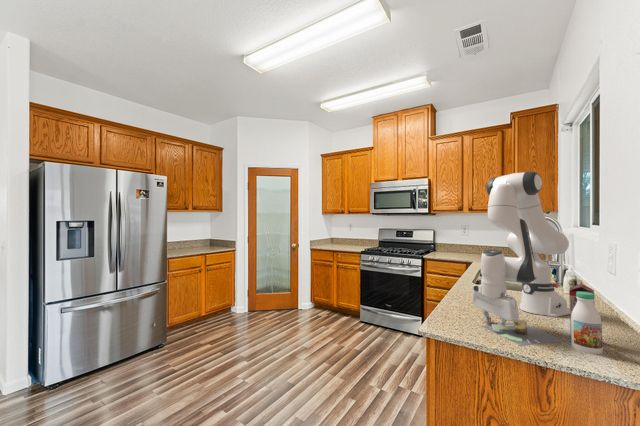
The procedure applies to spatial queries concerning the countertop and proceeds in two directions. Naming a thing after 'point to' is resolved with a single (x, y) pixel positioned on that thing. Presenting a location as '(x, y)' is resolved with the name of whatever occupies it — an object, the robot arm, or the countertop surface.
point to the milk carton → (573, 296)
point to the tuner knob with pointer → (513, 326)
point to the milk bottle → (586, 325)
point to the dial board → (525, 336)
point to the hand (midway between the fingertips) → (494, 324)
